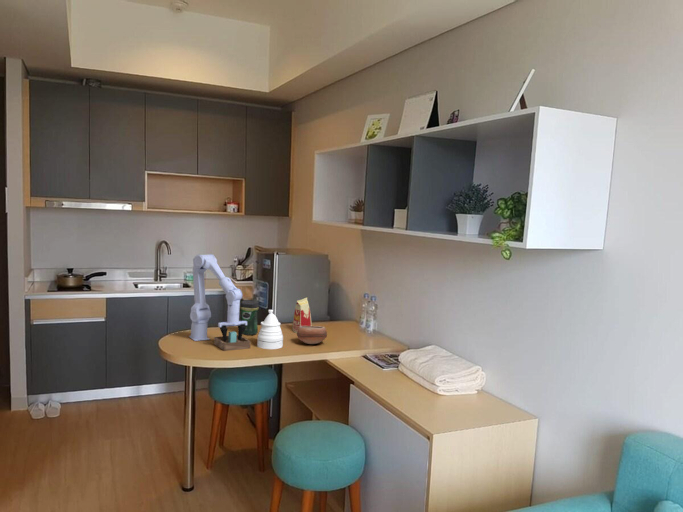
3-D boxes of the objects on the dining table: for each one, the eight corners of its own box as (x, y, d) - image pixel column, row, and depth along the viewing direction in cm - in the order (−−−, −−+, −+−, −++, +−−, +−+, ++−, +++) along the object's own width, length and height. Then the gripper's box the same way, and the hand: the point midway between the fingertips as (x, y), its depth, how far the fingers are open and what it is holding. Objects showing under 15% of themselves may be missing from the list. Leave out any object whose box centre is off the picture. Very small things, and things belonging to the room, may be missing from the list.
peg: (228, 345, 263) (228, 331, 262) (233, 345, 264) (234, 331, 264) (230, 347, 260) (230, 333, 260) (236, 346, 262) (236, 332, 261)
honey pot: (254, 343, 271) (256, 308, 269) (278, 342, 276) (280, 308, 274) (260, 349, 259) (262, 313, 257) (285, 348, 264) (287, 313, 262)
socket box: (213, 343, 264) (214, 337, 264) (239, 341, 272) (239, 334, 271) (223, 350, 253) (224, 343, 253) (250, 348, 260) (250, 341, 260)
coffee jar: (259, 333, 292) (261, 300, 291) (253, 336, 285) (255, 302, 283) (243, 331, 295) (245, 298, 293) (237, 334, 287) (238, 300, 286)
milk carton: (304, 329, 308) (306, 295, 306) (312, 333, 300) (314, 298, 298) (290, 330, 303) (292, 296, 301) (297, 334, 295) (299, 299, 293)
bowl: (322, 340, 286) (324, 322, 285) (329, 347, 271) (330, 328, 270) (294, 340, 282) (295, 321, 281) (298, 347, 267) (300, 328, 266)
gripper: (222, 315, 254) (221, 343, 255) (250, 314, 262) (249, 340, 263) (217, 313, 259) (216, 340, 261) (244, 311, 267) (243, 337, 269)
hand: (232, 340), depth 262 cm, fingers open, 7 cm apart
